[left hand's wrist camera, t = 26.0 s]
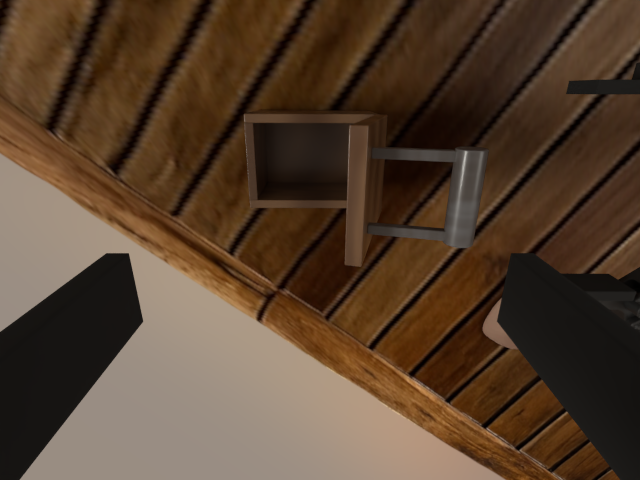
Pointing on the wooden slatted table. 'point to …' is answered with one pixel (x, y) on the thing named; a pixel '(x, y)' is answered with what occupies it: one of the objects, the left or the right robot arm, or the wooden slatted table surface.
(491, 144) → the wooden slatted table surface
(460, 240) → the lid
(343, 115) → the chest
